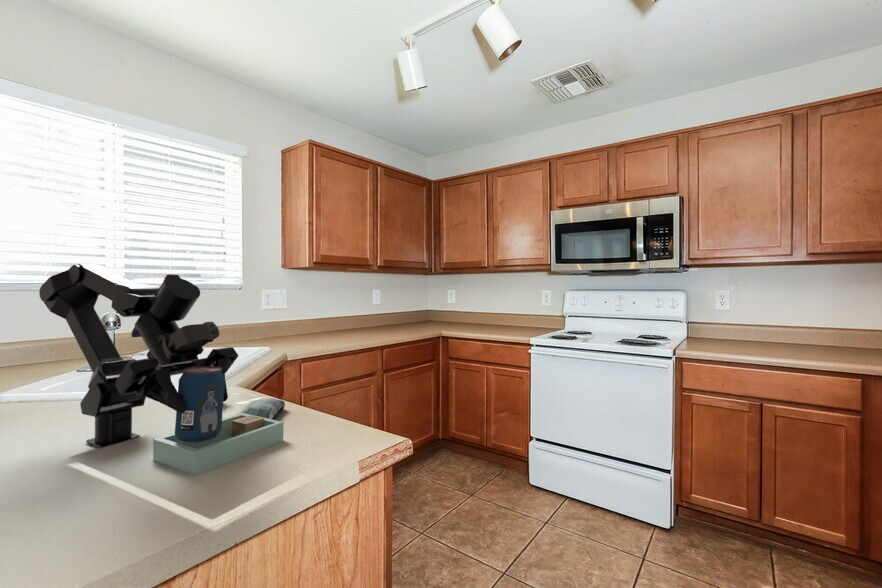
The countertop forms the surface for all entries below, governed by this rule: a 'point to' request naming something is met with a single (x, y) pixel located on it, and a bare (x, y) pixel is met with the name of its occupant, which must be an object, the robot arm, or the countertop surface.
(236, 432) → the walnut block
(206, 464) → the tray
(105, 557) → the countertop surface
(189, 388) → the soda can
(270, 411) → the packaged food
